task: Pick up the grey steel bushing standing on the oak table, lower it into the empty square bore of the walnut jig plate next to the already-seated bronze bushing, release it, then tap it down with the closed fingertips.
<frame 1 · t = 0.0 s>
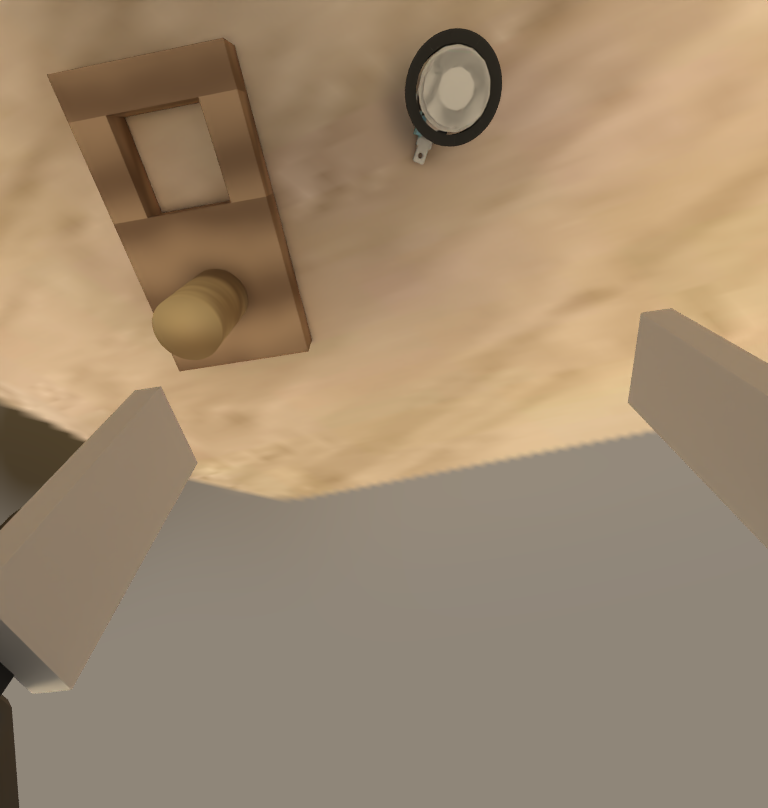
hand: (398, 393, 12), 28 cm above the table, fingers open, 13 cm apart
jig: (208, 228, 36), on the table
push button: (431, 113, 33), on the table
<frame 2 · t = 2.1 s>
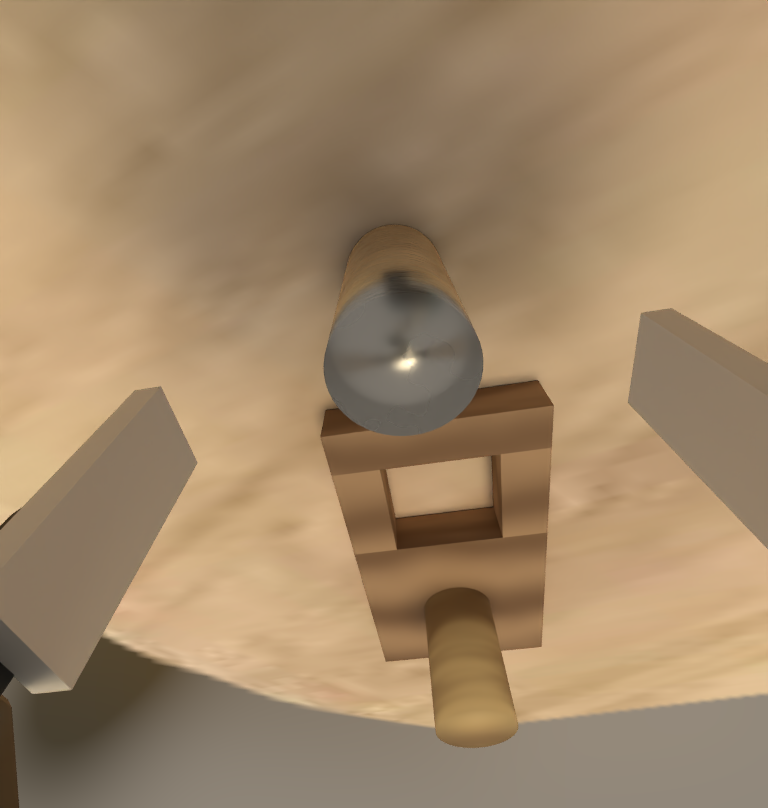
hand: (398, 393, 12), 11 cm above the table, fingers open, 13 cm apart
jig: (446, 530, 31), on the table
bushing: (394, 275, 21), on the table
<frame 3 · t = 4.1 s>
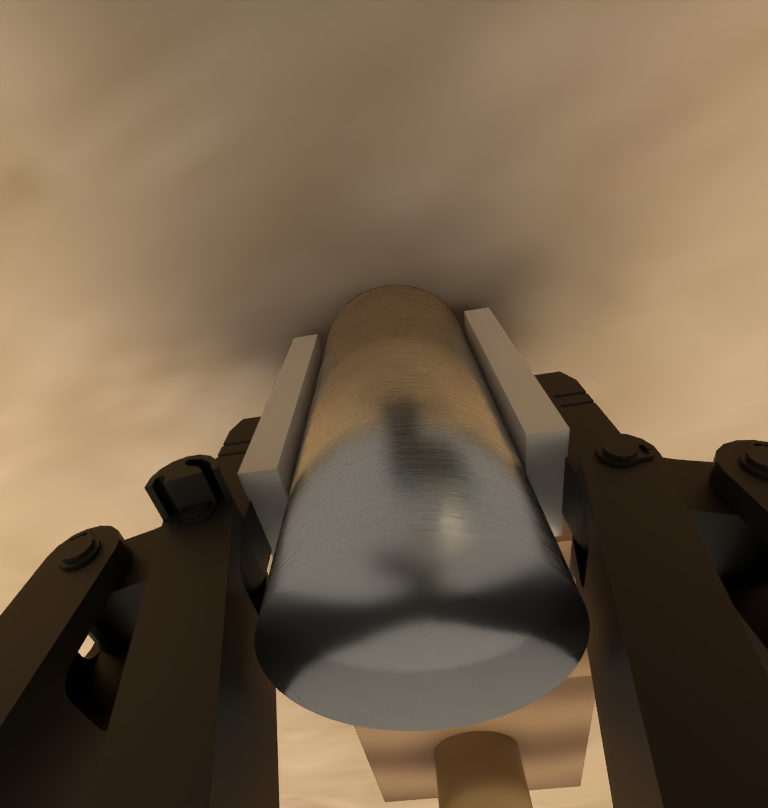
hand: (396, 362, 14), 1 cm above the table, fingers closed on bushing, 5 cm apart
jig: (461, 652, 24), on the table
bushing: (395, 353, 15), on the table, touching gripper
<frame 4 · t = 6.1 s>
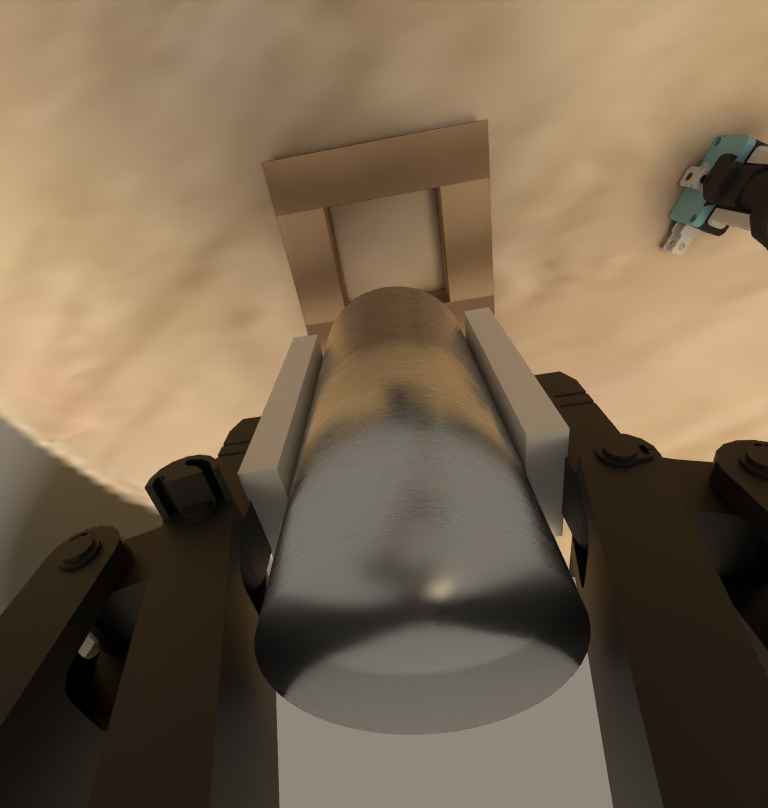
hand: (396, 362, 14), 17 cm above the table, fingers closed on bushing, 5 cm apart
jig: (400, 320, 31), on the table
bushing: (395, 355, 15), point 16 cm above the table, touching gripper
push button: (693, 194, 27), on the table
when the fingers open (3 cm above the table, at t = 8.5 s): bushing drops 2 cm, resting in jig.
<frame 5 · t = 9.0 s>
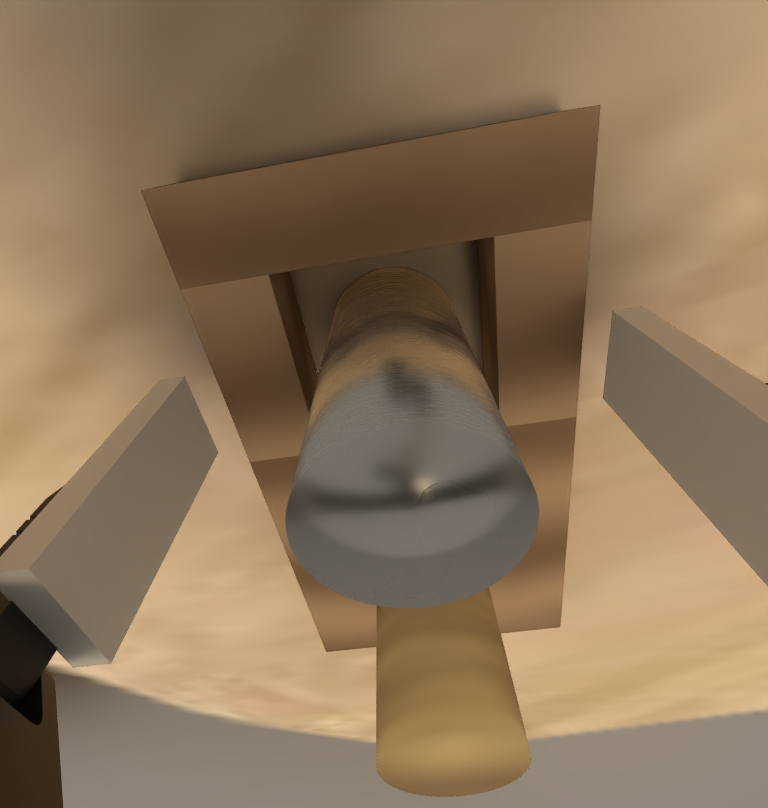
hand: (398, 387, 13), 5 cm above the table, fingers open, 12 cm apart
jig: (410, 436, 19), on the table
bushing: (393, 329, 17), resting in jig
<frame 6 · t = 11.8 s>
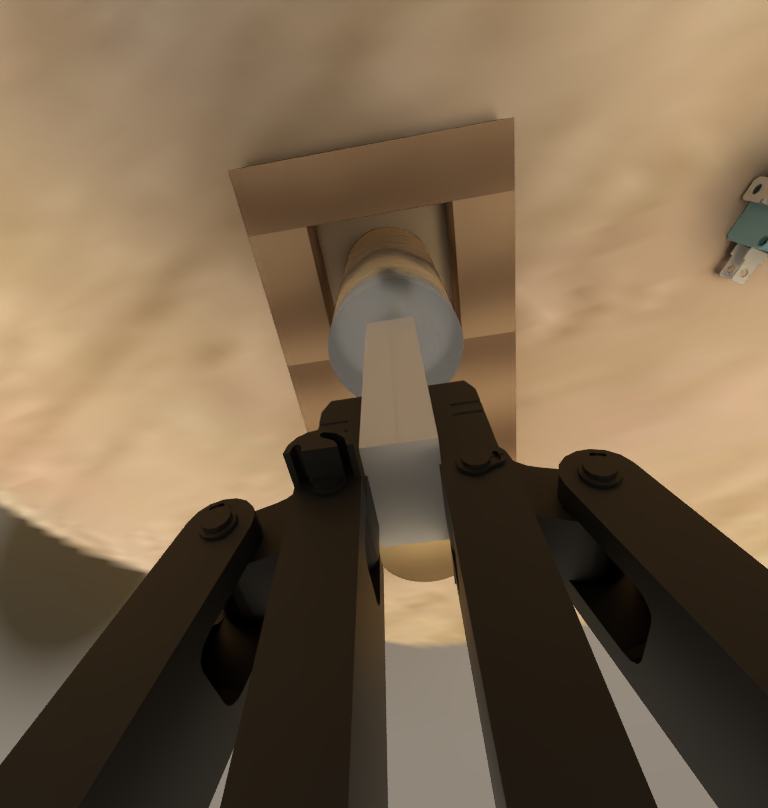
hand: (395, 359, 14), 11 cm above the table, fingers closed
jig: (401, 357, 26), on the table
bushing: (388, 272, 24), resting in jig
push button: (758, 210, 22), on the table
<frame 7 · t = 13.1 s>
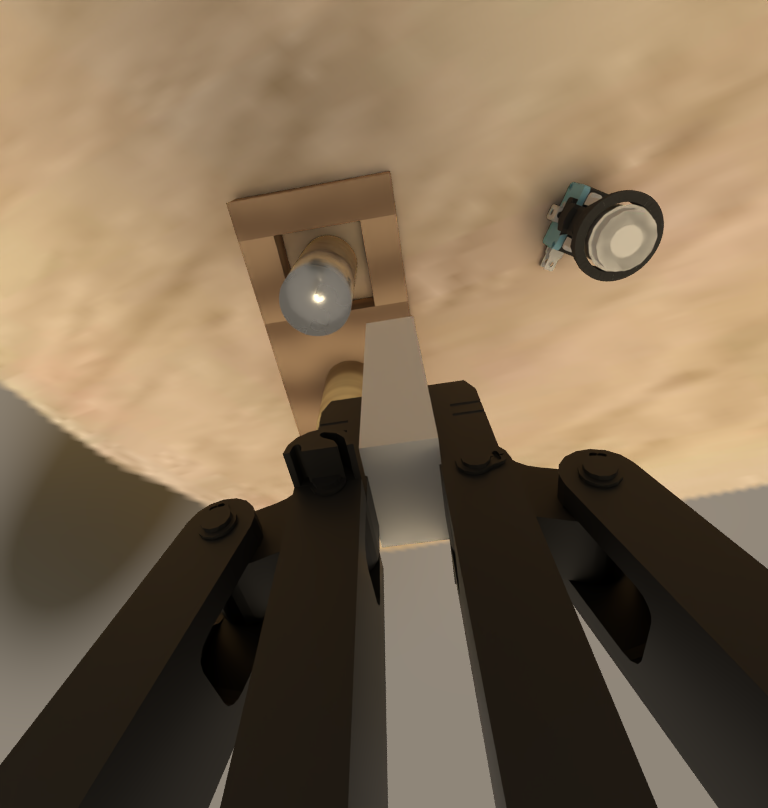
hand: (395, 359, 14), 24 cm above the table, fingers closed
jig: (341, 321, 39), on the table
bushing: (329, 264, 37), resting in jig
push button: (560, 224, 36), on the table
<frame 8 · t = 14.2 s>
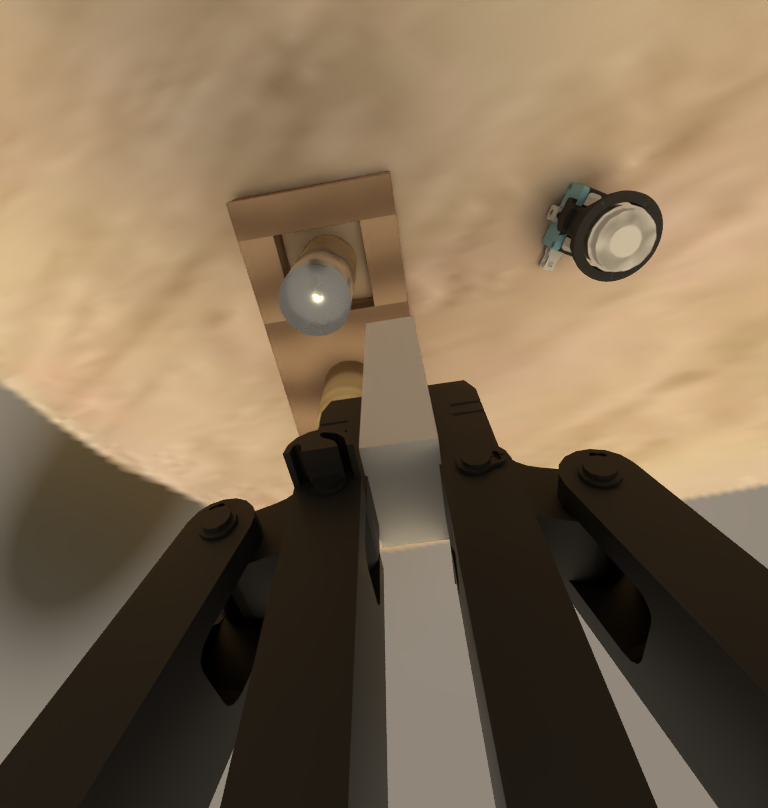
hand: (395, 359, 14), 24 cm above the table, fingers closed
jig: (341, 321, 39), on the table
bushing: (329, 264, 37), resting in jig
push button: (559, 224, 36), on the table
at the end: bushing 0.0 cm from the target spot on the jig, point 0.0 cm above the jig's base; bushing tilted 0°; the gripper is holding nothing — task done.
